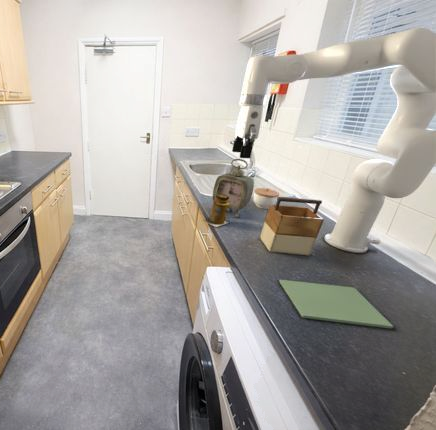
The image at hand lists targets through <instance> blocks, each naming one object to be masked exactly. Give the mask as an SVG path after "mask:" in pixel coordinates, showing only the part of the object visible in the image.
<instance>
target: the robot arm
mask: <svg viewBox="0 0 436 430" xmlns="http://www.w3.org/2000/svg"><path fill="white" fill-rule="evenodd" d="M390 68H391V69H392V68H395V69H394V70H393V71H392V73H391V75H390V77H389V78H390V79H389V84H390V87H391V89H392V90H393V92H394V93H395V95H396V99H397V105H396V109H395V111H394V112H393V115H392V117H391V119H390V120H389V122H388V124H387V125H386V127H385V128H384V130H383V132H382V134H381V136H380V137H379V138H378V141H377V143H376V151H377V152H378V153H379V154H380V155H383V156H385V157H388V158H392V159H396V160H395V161H394V162H391V161H388V160H384V159H379V158H378V159H377V158H374V159H368V160H364V161H363V162H362V163H360V164H359V165H358V166H357V167H356V168H355V170H354V172H353V174H352V179H351V184H350V189H349V192H348V195H347V197H346V199H345V202H344V204H343V206H342V208H341V211H340V213H339V216H338V217H337V220H336V223H335V225H334V227H333V229H332V232H331V233H327V234H325V235H324V238H323V239H324V241H325V242H326V243H327V244H328V245H330V246H332V247H334V248H337V249H338V250H341V251H346V252H349V253H356V254H363V253H366V252H367V251H368V249H369V247H368V245H371V244H372V245H379V244H380V243H381V240H380V239H379V238H372V236H370V235H369V234H370V232H371V231H372V228H373V226H374V224H375V222H376V221H377V218H378V216H379V214H380V212H381V211H382V208H383V206H384V204H385V200H386V199H385V198H386V197H387V198H389V199H403V198H406V197H408V196H411V195H412V194H413V193H415V191H417V190H418V188H420V187H421V185H422V183H423V182H424V181H425V179H426V178H427V177H428V176H429V174H430V173H431V171H432V170H433V168H434V167H435V166H436V129H430V128H428V127H429V125H430V123H432V120H433V119H434V117H435V115H436V32H434V31H432V30H431V29H429V28H425V27H414V28H410V29H407V30H406V29H405V30H403V31H398V32H394V33H389V34H384V35H379V36H374V37H369V38H363V39H359V40H353V41H347V42H341V43H338V44H334V45H331V46H327V47H325V48H324V47H323V48H321V49H318V50H313V51H309V52H305V53H301V54H297V53H296V54H295V53H294V54H293V53H292V54H286V55H285V54H284V55H275V56H273V55H270V54H269V55H268V54H267V55H265V54H261V55H254V56H251V57H250V58H248V61H247V64H246V69H245V74H244V78H243V84H242V88H241V93H240V98H239V103H238V106H241V107H240V110H239V114H238V117H237V122H236V126H235V136H234V140H233V144H232V148H231V152H233V153H239V159H251V156H252V152H253V147H254V144H255V142H256V140H257V139H258V138H259V136H260V135H259V134H260V130H261V125H262V119H263V114H264V107H265V106H266V103H267V100H268V99H267V98H268V93H269V90H270V87H271V84H272V85H286V84H293V83H295V82H297V81H302V80H303V81H304V80H310V79H328V78H334V77H342V76H348V75H354V74H359V73H361V74H362V73H366V72H372V71H379V70H383V69H390Z"/></svg>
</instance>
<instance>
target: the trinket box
mask: <svg viewBox="0 0 436 430" xmlns="http://www.w3.org/2000/svg"><path fill="white" fill-rule="evenodd" d="M252 196H253V197H252V199H253V203H254V204H255V206H256V207H257V208H259V209H265V210H268V209H269V206H270V204H271V205H276V203H277V198H278V197H280V192H279V191H277V190H274V189H271V188H269V187H266V188H265V187H257V188H254V189H253V194H252Z"/></svg>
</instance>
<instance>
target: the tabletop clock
mask: <svg viewBox="0 0 436 430" xmlns="http://www.w3.org/2000/svg"><path fill="white" fill-rule="evenodd" d="M236 161H240V162H243V163H245V167H241V166H240V165H239V164H238V165H234V164H233V162H236ZM230 163H231V166H232V167H233V170H232V171H231V172H226V173H224V174H220V175H218V176H217V178H216V180H215V183H214V186H213V189H212V201H213V202H214V200H215V197H216V194H225V195H228V196H229V201H228V203H229V205H228V209H227V210H228V211H229V212H232V211H236V214H235V217H236V218H240V217H241V215H240V214H239V213H240V211H241V210H242V209H244V208H246V207H247V206H248V205H249V204H250V201H251V199H252V196H253V194H254V189H255V188H254V187H255V182H254V179H253V178H252V177H250V176H248V175H244V172H243V170H246V169H247V168H248V167H249V166H248V165H249V163H248V162H247V161H246V160H245V159H243V158H234V159H233V160H232V161H231V162H230ZM213 202H212V203H213Z"/></svg>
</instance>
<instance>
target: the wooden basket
mask: <svg viewBox="0 0 436 430" xmlns="http://www.w3.org/2000/svg"><path fill="white" fill-rule="evenodd" d="M281 202H286V203H296V204H297V203H299V204H312V205H313V204H314V205H315V207H314V209H311V208H310V207H308V206H298V205H297V206H296V205H282V204H281ZM322 203H323V201H322V199H313V198H299V197H298V198H297V197H285V196H284V197H283V196H278V198H277V201H276V203H275V204H274V205H271V204H270V206H269V208H268V209H267V213H266V216H265V220H264V222H266V224H267V225H268V226H269V227H270V228H271V230H272V231H273V232H274V233H275V234H278V235H289V236H300V237H311V238H316V239H317V238H318V235H319V233H320V230H321V228H322V225H323V223H324V221H325V219H324V218H323V217H322V216H321V215H319V214H318V211H319V208H320V206H321V205H322Z"/></svg>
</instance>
